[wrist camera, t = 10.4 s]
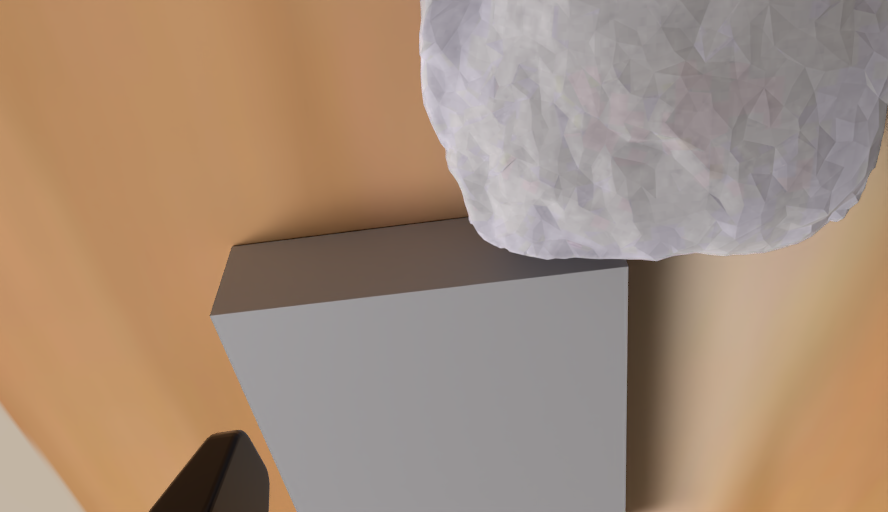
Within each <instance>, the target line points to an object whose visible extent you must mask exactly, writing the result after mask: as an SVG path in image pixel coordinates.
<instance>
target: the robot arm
mask: <svg viewBox="0 0 888 512" xmlns="http://www.w3.org/2000/svg"><path fill="white" fill-rule="evenodd" d="M268 511H269V476H268V472H267V469H266V466H265V465H264V463H263V461H262V459H261V458H260V456H259V454H258V452H257V450H256V449H255V447H254V445H253V443H252V442H251V440H250V438H249V437H248V435H247V434H246V433H245V432H244V431H242V430H234V431H227V432H220V433H215V434H213V435H211V436H210V437H208V438H207V439H206V440H205V441H204V443H203V444H202V445H201V447H200V448H199V449H198V450H197V452H196V453H195V454H194V455H193V457H192V458H191V459H190V460H189V462H188V463H187V464H186V465H185V467H184V468H183V469H182V470H181V472H180V473H179V474H178V475H177V477H176V478H175V479H174V480H173V482H172V483H171V484H170V485H169V487H168V488H167V489H166V490H165V492H164V493H163V494H162V496H161V497H160V498H159V499H158V501H157V502H156V503H155V504H154V506H153V507H152V508H151V509H150V511H149V512H268Z"/></svg>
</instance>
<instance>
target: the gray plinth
mask: <svg viewBox="0 0 888 512" xmlns="http://www.w3.org/2000/svg"><path fill="white" fill-rule="evenodd" d="M210 317H211V320H212V322H213V324H214V326H215V329H216V331H217V333H218V335H219V338H220V340H221V342H222V344H223V347H224V349H225V351H226V353H227V356H228V358H229V360H230V362H231V365H232V367H233V369H234V371H235V374H236V376H237V378H238V380H239V383H240V385H241V387H242V389H243V392H244V394H245V396H246V398H247V401H248V403H249V405H250V407H251V410H252V412H253V414H254V416H255V419H256V421H257V423H258V425H259V428H260V430H261V432H262V434H263V436H264V439H265V441H266V443H267V445H268V448H269V450H270V452H271V454H272V457H273V459H274V461H275V463H276V466H277V468H278V470H279V472H280V475H281V477H282V479H283V481H284V484H285V486H286V488H287V490H288V493H289V495H290V497H291V499H292V502H293V504H294V506H295V508H296V511H297V512H625V507H626V421H627V334H628V264H627V261H626V259H589V258H577V257H574V258H568V259H560V258H554V259H549V260H546V259H541V258H536V257H530V256H526V255H521V254H517V253H513V252H510V251H509V250H508V249H506V248H499V247H497V246H495V245H493V244H491V243H489V242H487V241H485V240H484V239H483V238H482V237H481V236H480V235H479V234H478V232H477V231H476V229H475V227H474V226H473V224H470V221H469V217H467V218H459V219H451V220H443V221H435V222H427V223H419V224H411V225H403V226H394V227H386V228H378V229H370V230H362V231H354V232H346V233H338V234H330V235H322V236H314V237H306V238H298V239H290V240H282V241H274V242H265V243H257V244H249V245H241V246H233V247H232V248H231V251H230V254H229V258H228V261H227V264H226V267H225V270H224V273H223V276H222V279H221V283H220V286H219V289H218V292H217V295H216V298H215V301H214V304H213V307H212V311H211V314H210Z"/></svg>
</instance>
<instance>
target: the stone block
mask: <svg viewBox="0 0 888 512" xmlns="http://www.w3.org/2000/svg"><path fill="white" fill-rule="evenodd" d="M420 4H421V26H420V33H419V39H420V43H419V51H420V56H421V86H422V96H423V103H424V106H425V109H426V111H427V114H428V117H429V119H430V122H431V124H432V126H433V128H434V130H435V132H436V134H437V136H438V139H439V141H440V143H441V144H442V145H443V147H444V148H445V149H446V160H447V164H448V168H449V171H450V172H451V173H452V175H453V176H454V178H455V179H456V180H457V182H458V184H459V186H460V189H461V191H462V194H463V198H464V203H465V206H466V209H467V211H468V214H469V221H470V224H473V226H474V227H475V229H476V231H477V232H478V234H479V235H480V236H481V237H482V238H483V239H484V240H485V241H487V242H489V243H491V244H493V245H495V246H497V247H499V248H506V249H508V250H509V251H510V252H513V253H517V254H521V255H526V256H530V257H536V258H541V259H546V260H549V259H554V258H560V259H568V258H574V257H577V258H589V259H629V260H635V259H641V260H651V261H659V260H662V259H665V258H669V257H672V256H677V255H686V254H692V253H701V254H708V255H719V256H729V255H746V254H753V253H765V252H769V251H773V250H777V249H780V248H784V247H787V246H790V245H793V244H798V243H800V242H802V241H804V240H806V239H808V238H809V237H811V236H813V235H814V234H815V233H816V232H817V231H818V230H820V229H821V228H822V227H823V226H824V225H826V224H827V223H828V222H829V221H834V222H837V221H839V220H841V219H843V218H844V217H845V216H846V214H847V212H848V211H849V209H850V208H851V207H853V206H854V205H855V204H856V203H858V201H859V199H860V197H861V194H862V192H863V190H864V189H865V186H866V182H867V179H868V177H869V175H870V173H871V171H872V170H873V169H874V168H875V166H876V162H877V159H878V155H879V151H880V146H881V141H882V137H883V133H884V127H885V120H886V113H887V106H888V0H420Z"/></svg>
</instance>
